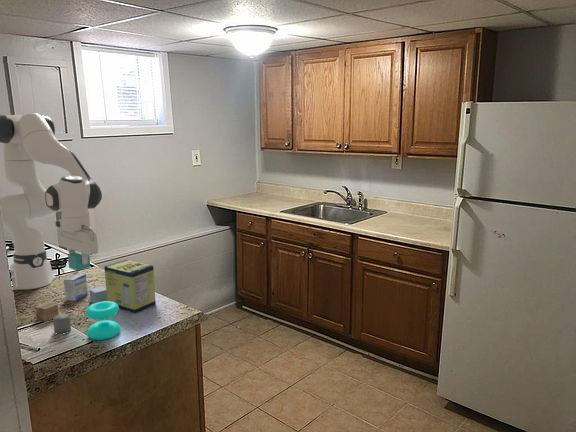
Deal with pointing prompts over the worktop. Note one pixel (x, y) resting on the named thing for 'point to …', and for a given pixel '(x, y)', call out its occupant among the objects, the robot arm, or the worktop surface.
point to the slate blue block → (98, 294)
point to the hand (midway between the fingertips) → (79, 262)
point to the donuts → (103, 327)
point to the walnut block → (46, 311)
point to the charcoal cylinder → (62, 323)
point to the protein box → (130, 285)
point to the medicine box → (75, 287)
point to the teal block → (77, 261)
